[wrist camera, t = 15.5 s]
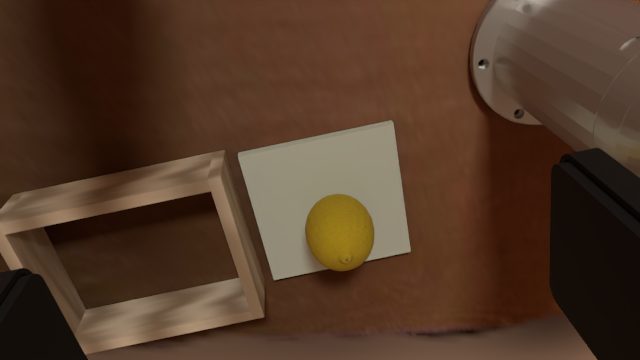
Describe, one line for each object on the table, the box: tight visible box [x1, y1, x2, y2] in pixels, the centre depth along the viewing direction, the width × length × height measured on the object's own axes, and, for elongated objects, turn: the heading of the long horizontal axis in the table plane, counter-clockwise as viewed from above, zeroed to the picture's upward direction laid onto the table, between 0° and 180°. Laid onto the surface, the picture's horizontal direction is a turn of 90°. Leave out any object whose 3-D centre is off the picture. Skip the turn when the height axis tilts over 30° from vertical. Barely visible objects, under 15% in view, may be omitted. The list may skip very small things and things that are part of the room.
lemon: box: [305, 194, 374, 271], centre depth 43 cm, size 6×6×8 cm
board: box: [238, 120, 411, 280], centre depth 47 cm, size 13×13×1 cm
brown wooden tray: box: [0, 150, 265, 354], centre depth 46 cm, size 18×14×5 cm
